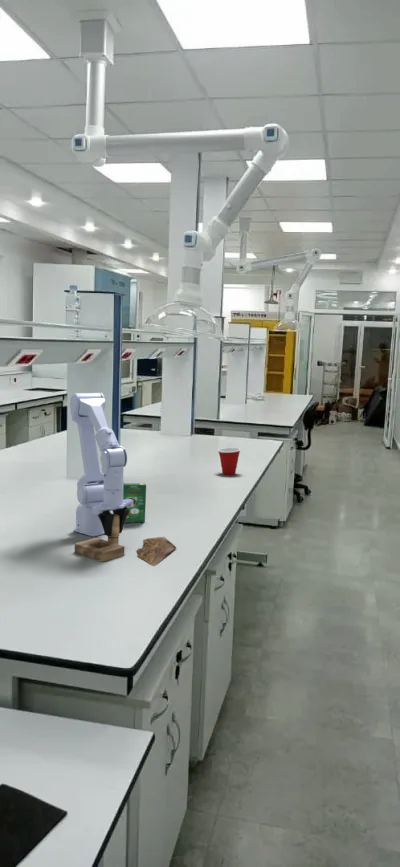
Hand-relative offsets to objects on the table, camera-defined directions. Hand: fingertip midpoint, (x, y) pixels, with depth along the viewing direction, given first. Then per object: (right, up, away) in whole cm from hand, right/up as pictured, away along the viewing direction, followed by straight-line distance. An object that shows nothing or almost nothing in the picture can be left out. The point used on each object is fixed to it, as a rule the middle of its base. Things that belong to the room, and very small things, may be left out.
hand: (113, 533), depth 192 cm
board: (-3, -4, -8) cm, 9 cm away
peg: (0, -3, 0) cm, 3 cm away
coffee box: (+3, 0, +26) cm, 26 cm away
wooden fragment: (+13, -5, -4) cm, 14 cm away
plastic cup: (+39, +10, +110) cm, 117 cm away
